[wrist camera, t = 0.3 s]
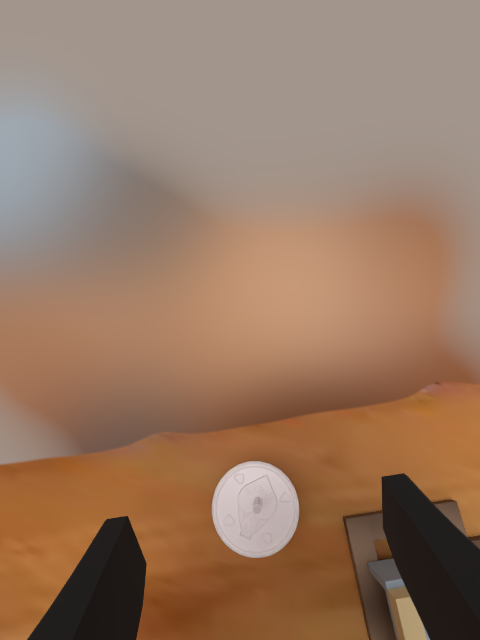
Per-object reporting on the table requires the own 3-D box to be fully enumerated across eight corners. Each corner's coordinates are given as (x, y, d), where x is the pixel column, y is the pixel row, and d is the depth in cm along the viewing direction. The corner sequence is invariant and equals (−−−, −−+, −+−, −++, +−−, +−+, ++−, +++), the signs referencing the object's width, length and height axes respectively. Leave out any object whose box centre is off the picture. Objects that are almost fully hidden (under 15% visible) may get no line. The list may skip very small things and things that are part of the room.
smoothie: (300, 473, 38) (320, 487, 25) (277, 543, 36) (286, 598, 23) (238, 448, 39) (225, 447, 26) (213, 514, 37) (185, 551, 24)
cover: (492, 660, 32) (555, 718, 25) (392, 675, 32) (428, 738, 25) (459, 547, 34) (508, 572, 27) (367, 562, 34) (393, 590, 27)
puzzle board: (627, 682, 32) (641, 691, 31) (386, 721, 32) (391, 730, 31) (552, 482, 37) (561, 484, 35) (343, 516, 37) (345, 519, 35)
